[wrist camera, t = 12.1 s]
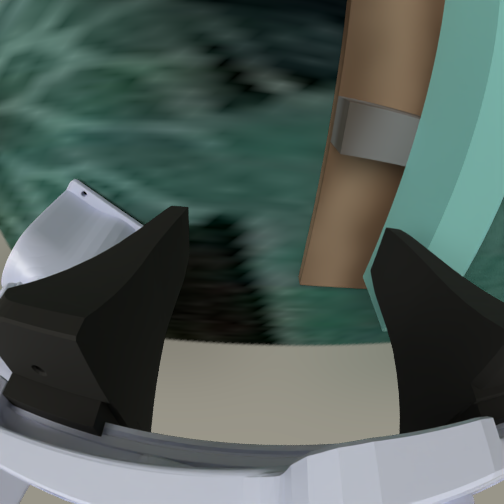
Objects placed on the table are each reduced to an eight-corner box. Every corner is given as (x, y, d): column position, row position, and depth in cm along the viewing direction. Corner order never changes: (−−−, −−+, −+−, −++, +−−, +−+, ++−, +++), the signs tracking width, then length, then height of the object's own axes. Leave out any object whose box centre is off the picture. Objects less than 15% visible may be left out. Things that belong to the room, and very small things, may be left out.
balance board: (298, 276, 26) (303, 307, 23) (352, -61, 11) (369, -79, 8) (421, 284, 26) (435, 310, 23) (498, 5, 11) (528, 5, 8)
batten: (403, 281, 21) (427, 332, 17) (362, 276, 21) (382, 330, 17) (490, 16, 10) (546, 20, 6) (446, -11, 9) (500, -19, 5)
